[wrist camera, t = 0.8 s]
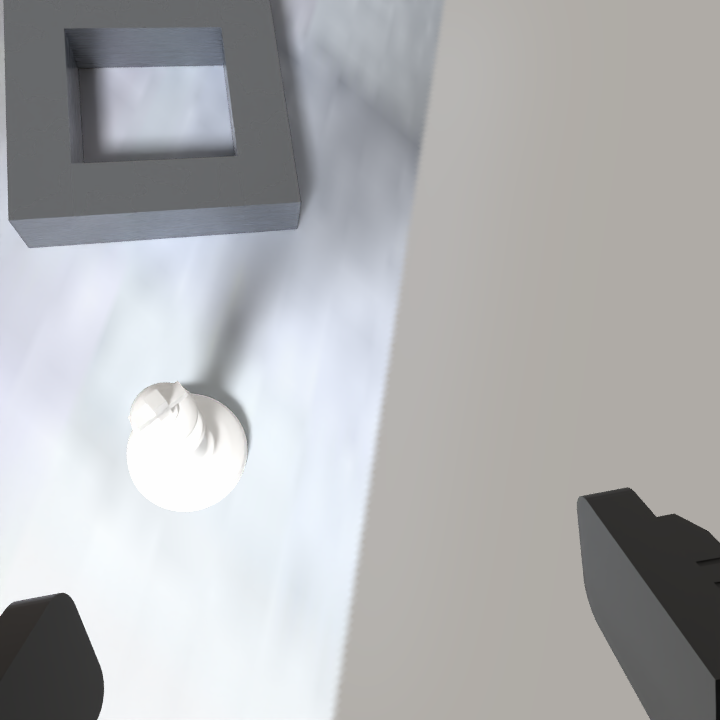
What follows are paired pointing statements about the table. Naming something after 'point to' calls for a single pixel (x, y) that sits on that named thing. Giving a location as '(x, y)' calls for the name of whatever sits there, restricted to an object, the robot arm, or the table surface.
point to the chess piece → (184, 448)
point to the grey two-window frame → (144, 177)
